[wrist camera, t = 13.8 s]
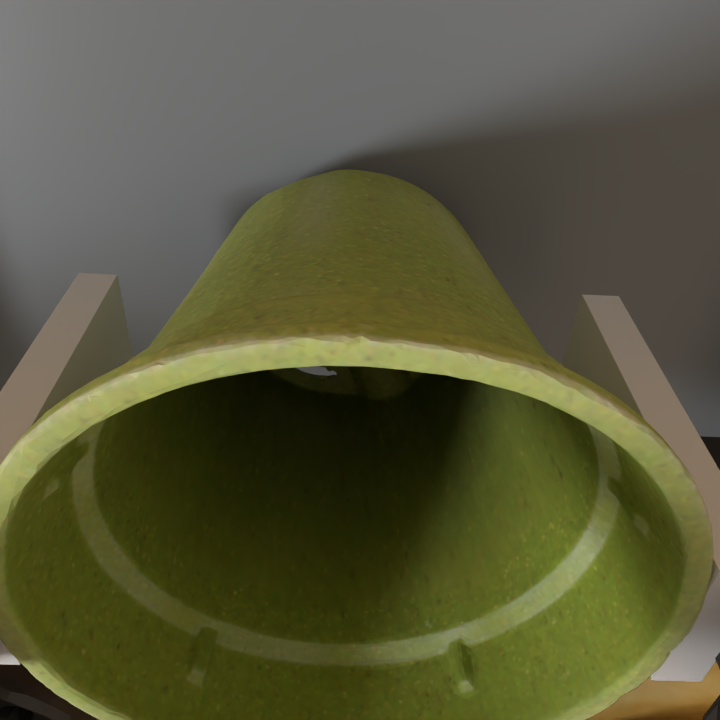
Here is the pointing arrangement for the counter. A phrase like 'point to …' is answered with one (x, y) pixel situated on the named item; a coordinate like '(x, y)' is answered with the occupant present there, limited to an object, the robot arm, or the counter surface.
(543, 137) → the walled tray
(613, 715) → the counter surface
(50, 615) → the plant pot
